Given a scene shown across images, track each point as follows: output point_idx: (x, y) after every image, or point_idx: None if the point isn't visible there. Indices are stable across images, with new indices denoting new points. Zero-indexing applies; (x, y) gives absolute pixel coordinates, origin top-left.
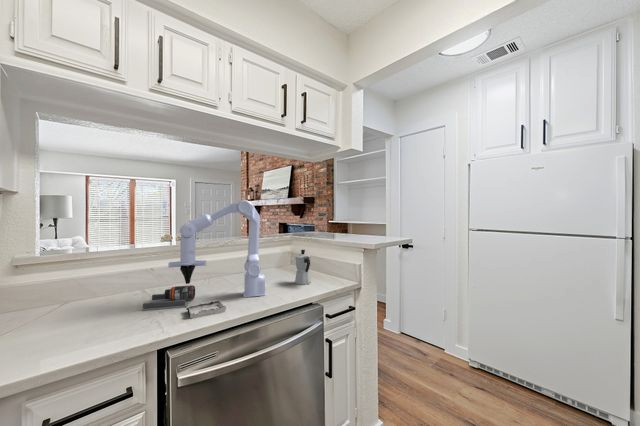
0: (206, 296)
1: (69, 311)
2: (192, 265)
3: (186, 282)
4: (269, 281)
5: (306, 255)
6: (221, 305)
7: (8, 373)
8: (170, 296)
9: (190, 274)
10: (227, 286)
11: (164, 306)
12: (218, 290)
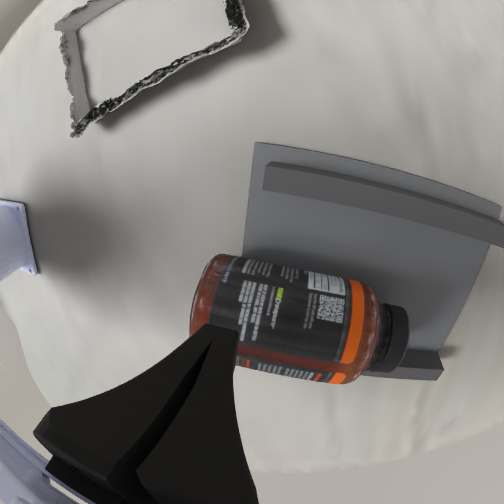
0: (164, 302)
1: None
2: (63, 483)
3: (226, 336)
4: (22, 341)
5: None
6: (74, 88)
7: None
8: (371, 289)
9: (133, 382)
10: (114, 379)
11: (403, 189)
12: (132, 356)
